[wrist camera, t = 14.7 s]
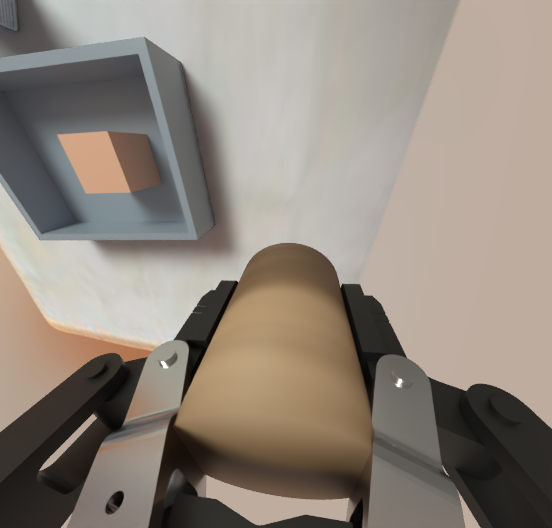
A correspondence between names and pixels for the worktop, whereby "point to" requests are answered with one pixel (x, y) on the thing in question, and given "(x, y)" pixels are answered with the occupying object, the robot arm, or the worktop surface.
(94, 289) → the worktop surface
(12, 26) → the medicine box
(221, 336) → the walnut cylinder
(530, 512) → the robot arm
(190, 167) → the tote
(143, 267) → the worktop surface
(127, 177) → the terracotta cube
